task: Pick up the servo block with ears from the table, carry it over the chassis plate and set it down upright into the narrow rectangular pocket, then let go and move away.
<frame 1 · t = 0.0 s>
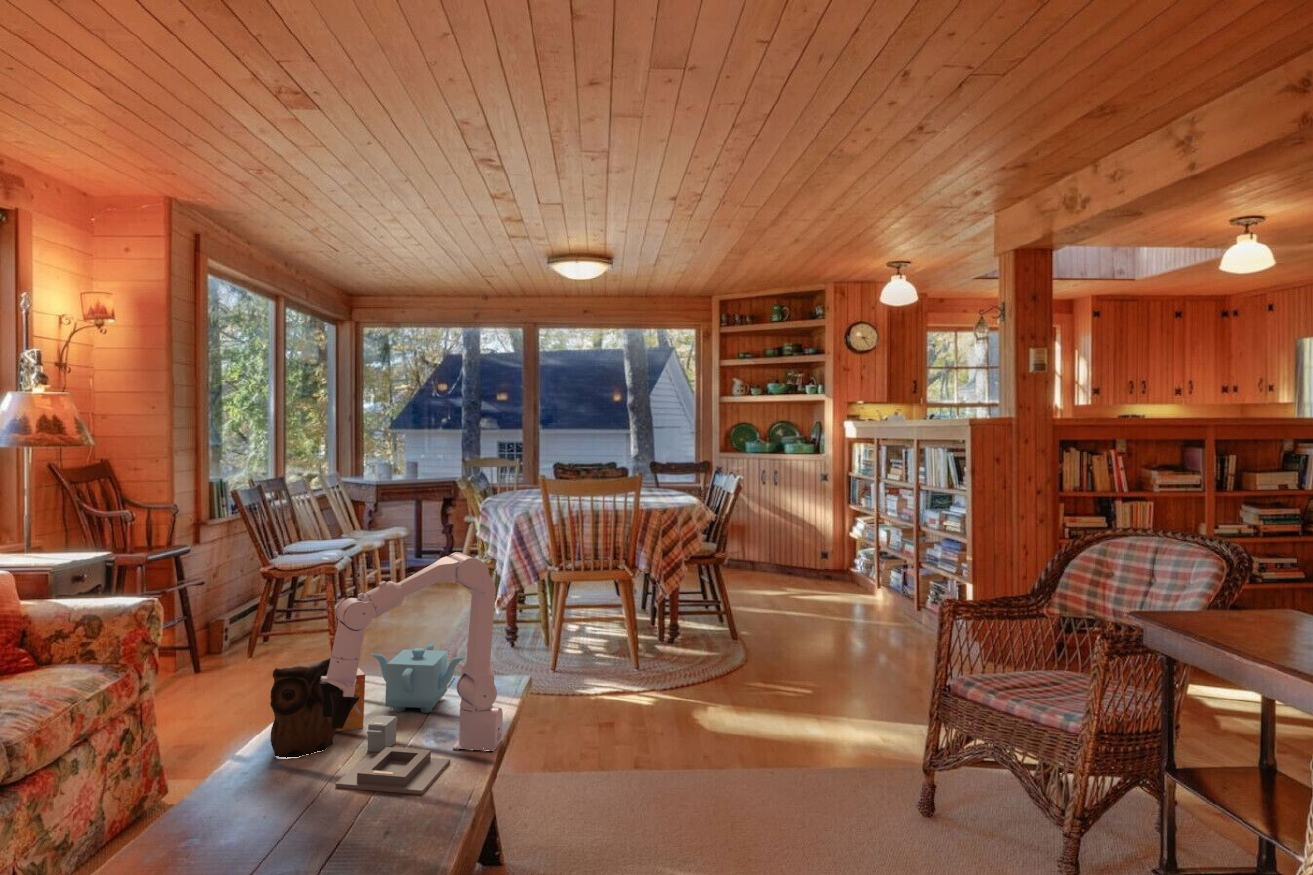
hand: (332, 722, 177), 11 cm above the table, tool pointing down, fingers open, 7 cm apart
servo block: (381, 746, 192), on the table
teakettle: (417, 704, 221), on the table
owl: (301, 748, 189), on the table
chassis: (394, 774, 177), on the table
small box: (343, 727, 203), on the table
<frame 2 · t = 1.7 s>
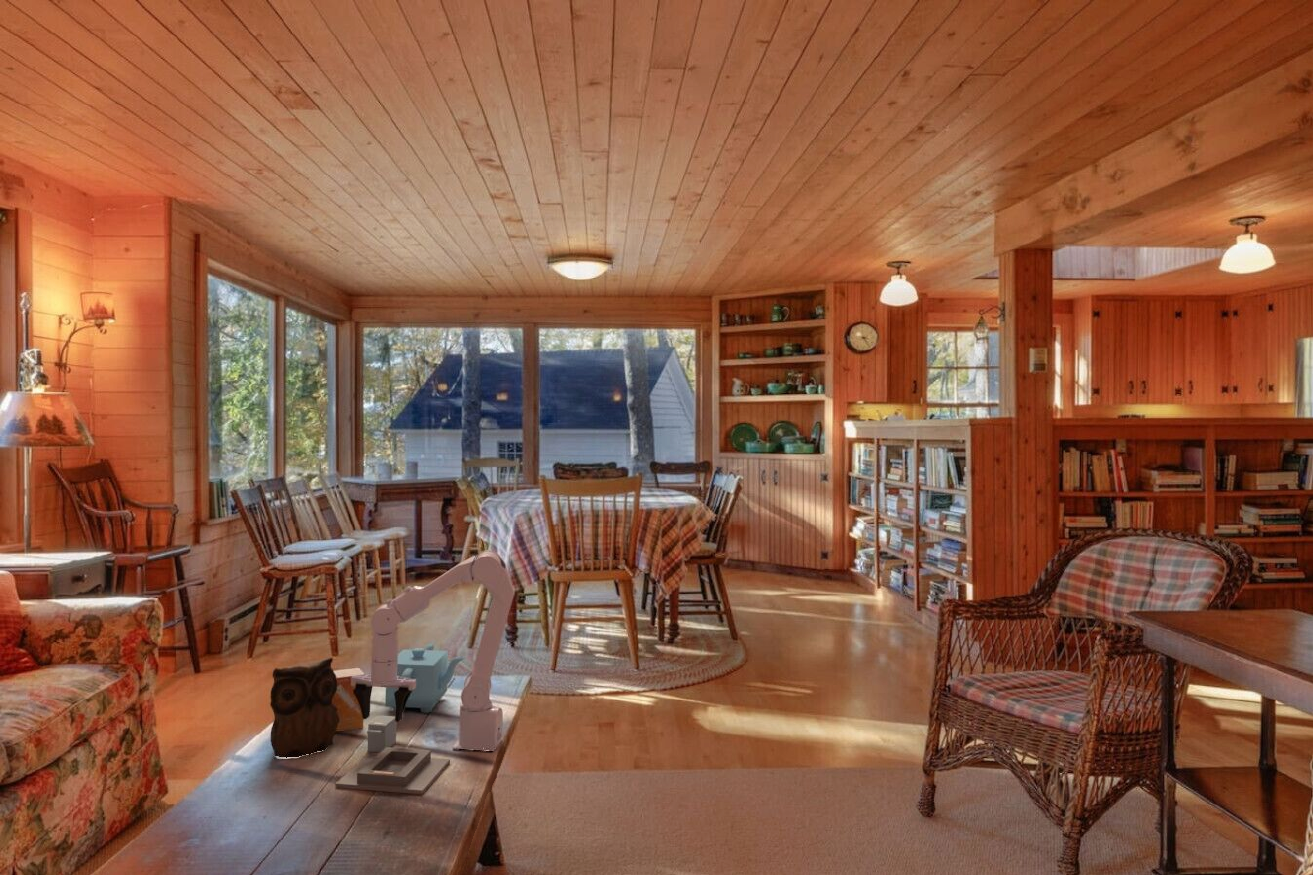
hand: (382, 718, 192), 6 cm above the table, tool pointing down, fingers open, 7 cm apart
nothing on the table moved.
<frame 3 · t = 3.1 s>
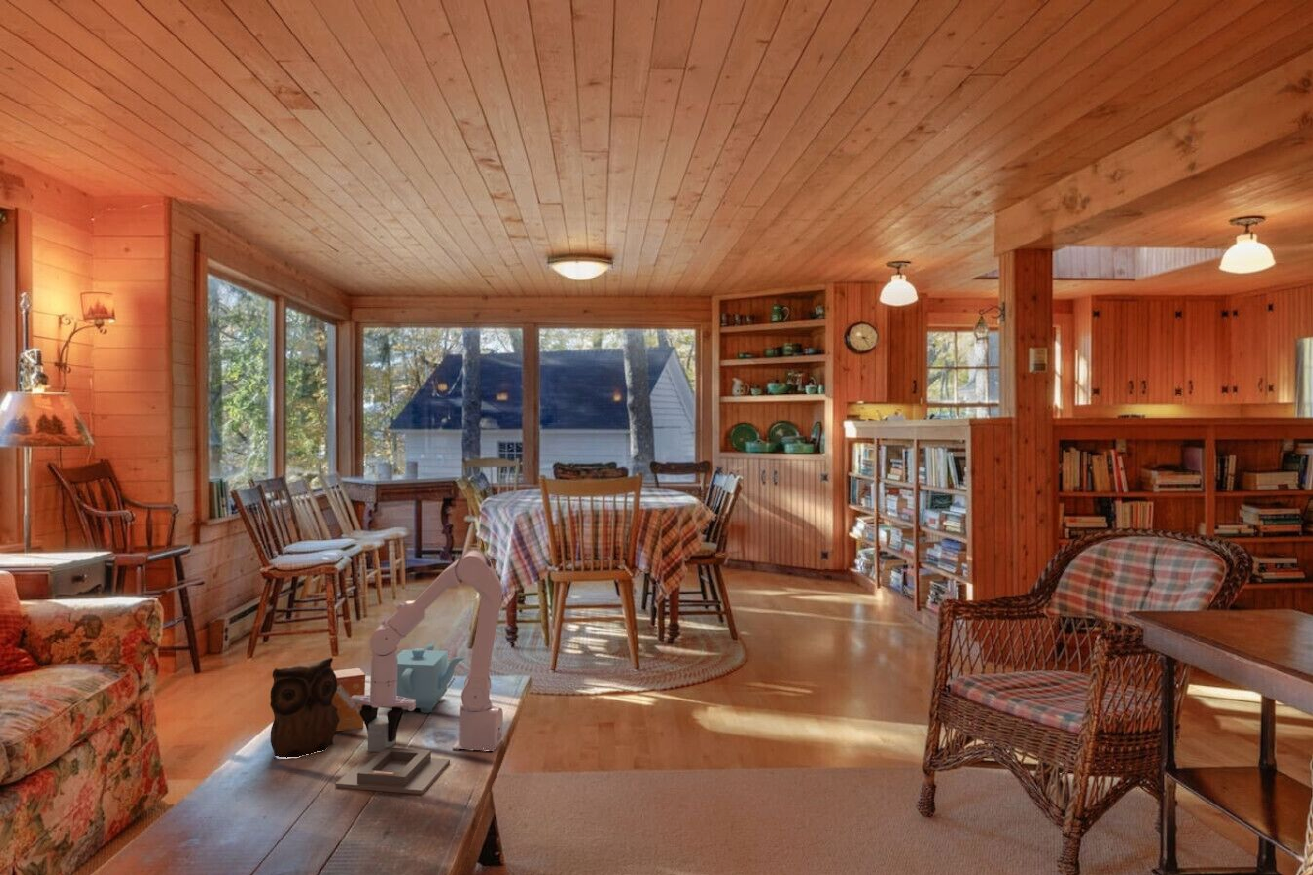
hand: (382, 739, 192), 2 cm above the table, tool pointing down, fingers closed on servo block, 4 cm apart
servo block: (381, 746, 192), on the table, touching gripper
everything else where it was.
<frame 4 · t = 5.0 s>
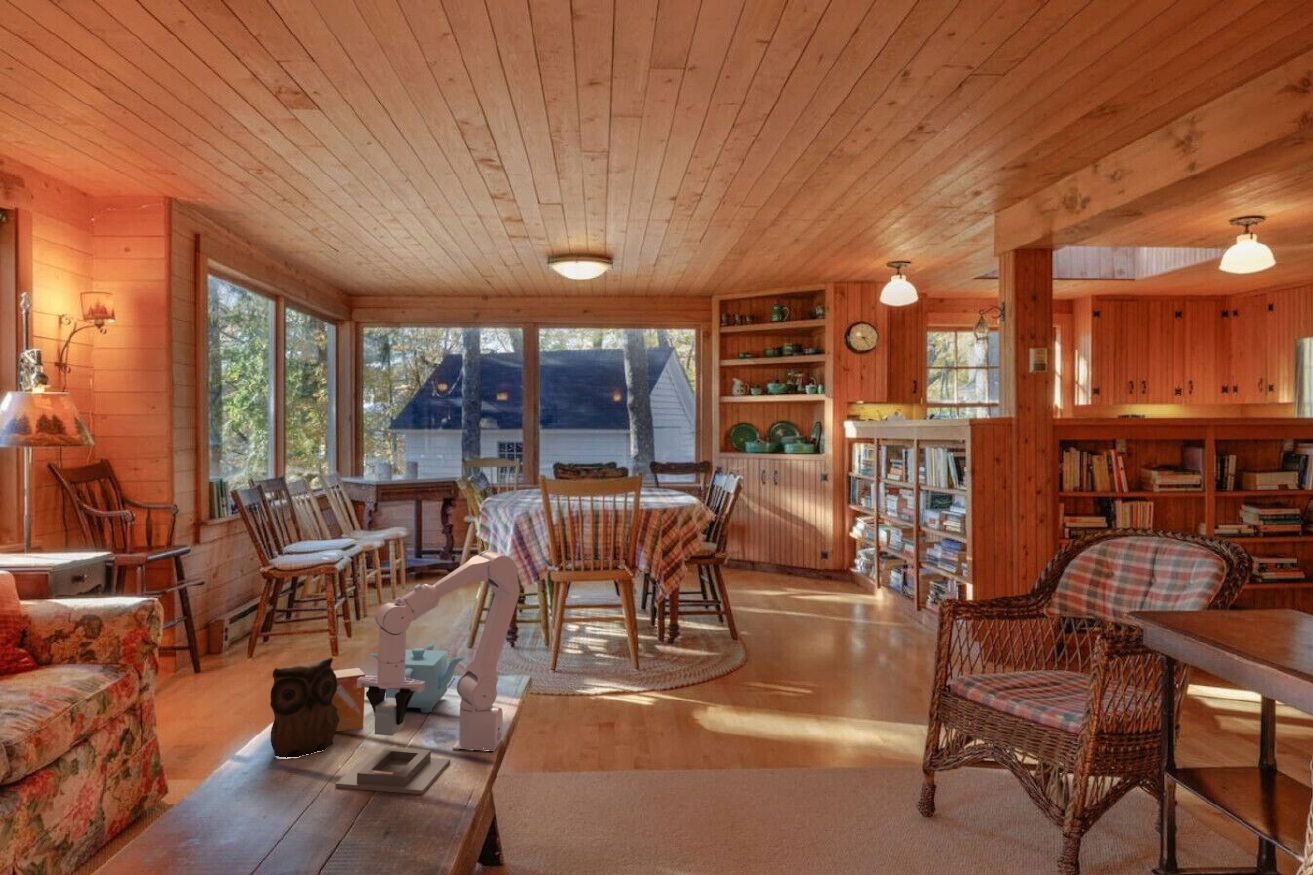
hand: (389, 722, 184), 8 cm above the table, tool pointing down, fingers closed on servo block, 4 cm apart
servo block: (389, 729, 184), point 7 cm above the table, touching gripper
everything else where it was.
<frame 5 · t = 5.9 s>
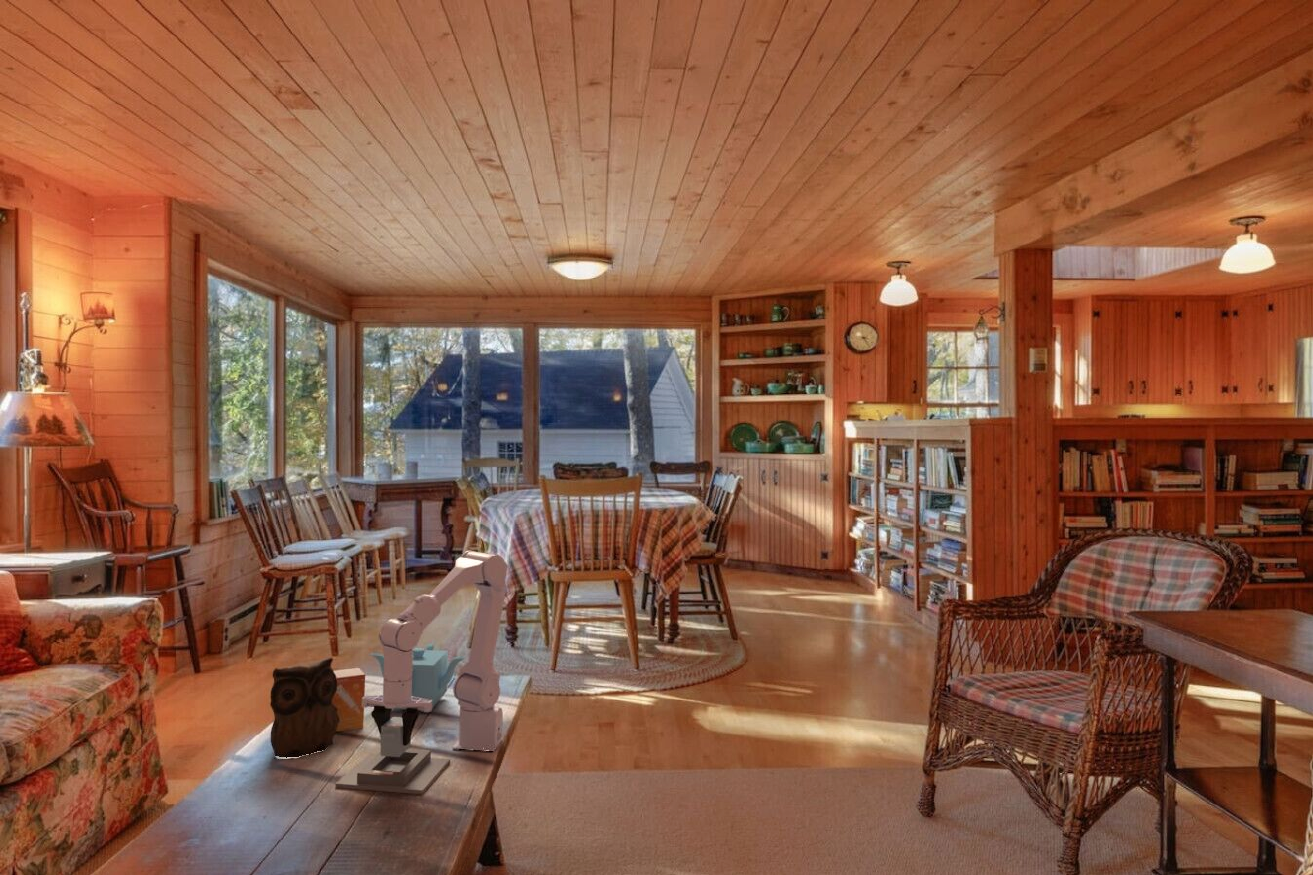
hand: (395, 742, 177), 7 cm above the table, tool pointing down, fingers closed on servo block, 4 cm apart
servo block: (395, 750, 177), point 5 cm above the table, touching gripper
everything else where it was.
when the fingers open (4 cm above the table, at t = 6.7 s): servo block drops 1 cm, resting on chassis.
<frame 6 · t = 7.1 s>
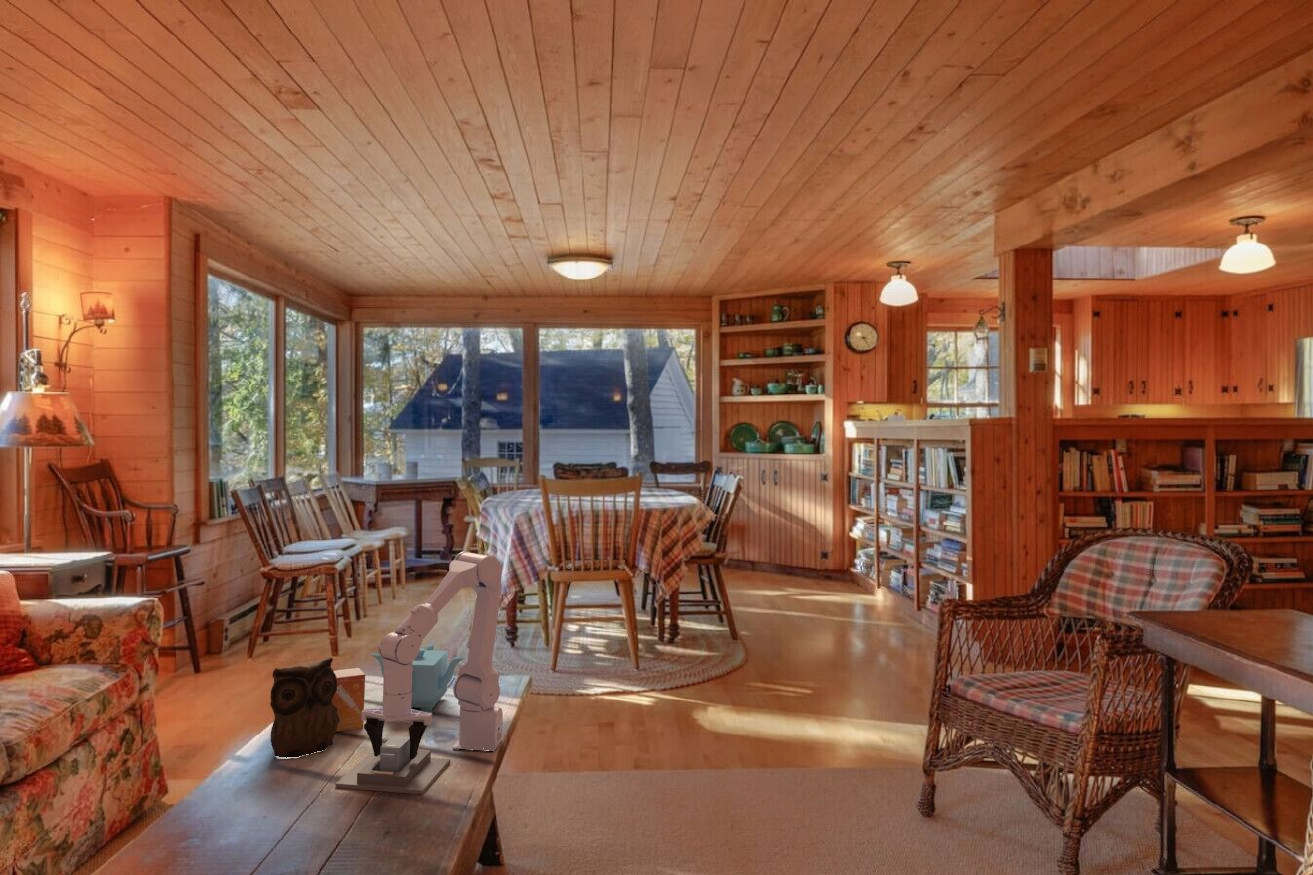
hand: (395, 755, 177), 4 cm above the table, tool pointing down, fingers open, 7 cm apart
servo block: (395, 770, 177), point 1 cm above the table, touching chassis
everything else where it was.
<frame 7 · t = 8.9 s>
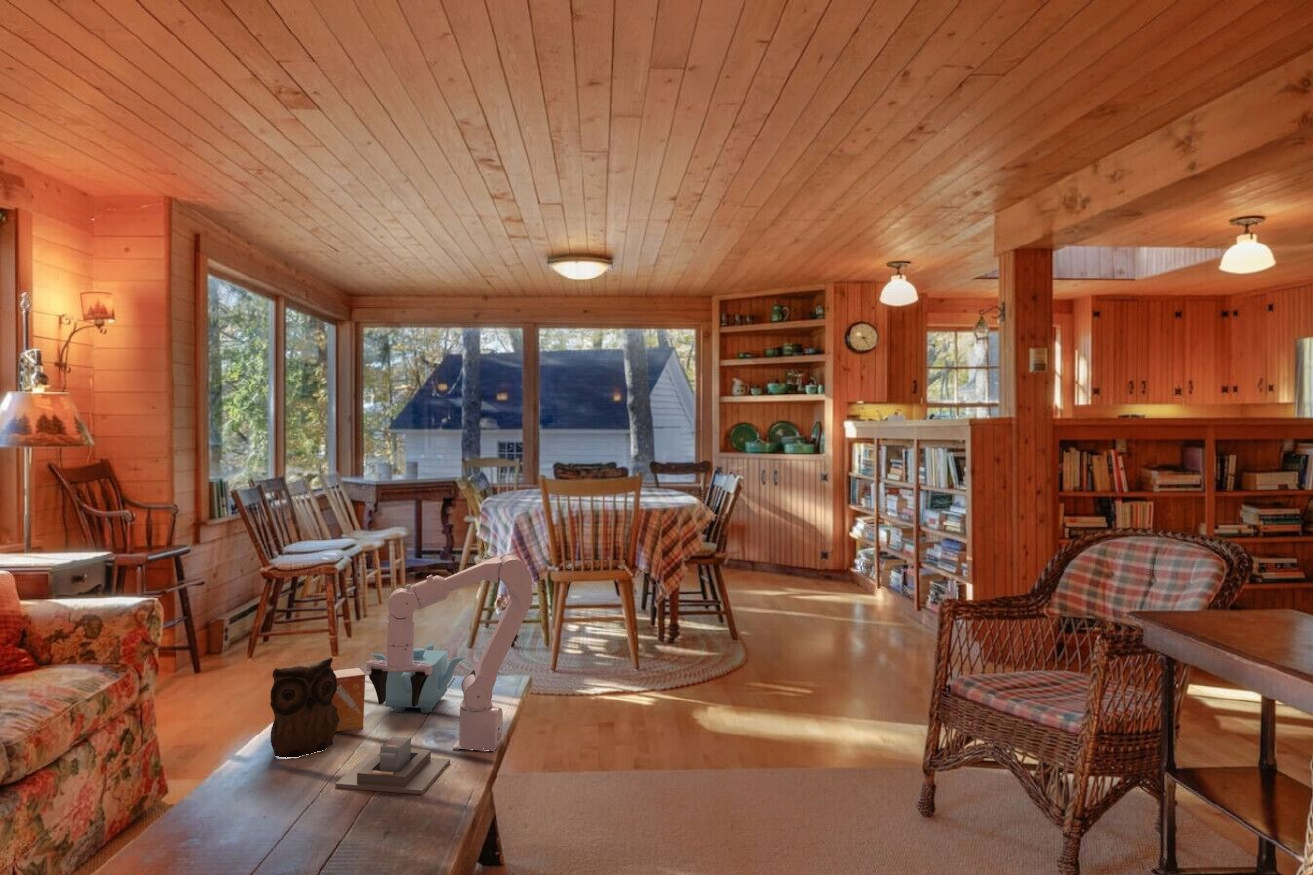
hand: (398, 703, 190), 10 cm above the table, tool pointing down, fingers open, 7 cm apart
nothing on the table moved.
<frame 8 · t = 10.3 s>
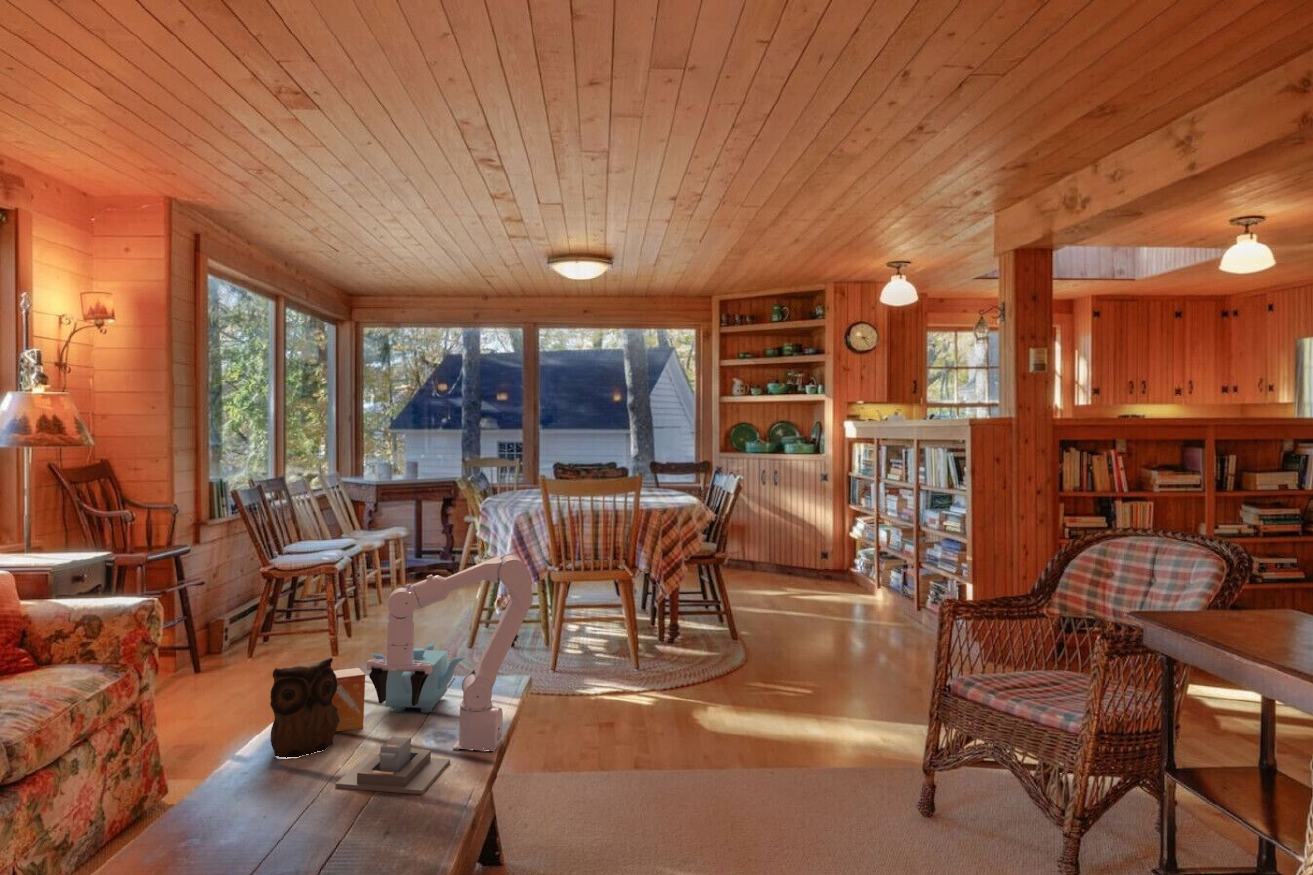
hand: (398, 703, 190), 10 cm above the table, tool pointing down, fingers open, 7 cm apart
nothing on the table moved.
at the end: servo block 0.1 cm off-centre on the chassis, point 0.8 cm above the chassis's base; servo block tilted 0°; the gripper is holding nothing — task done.
